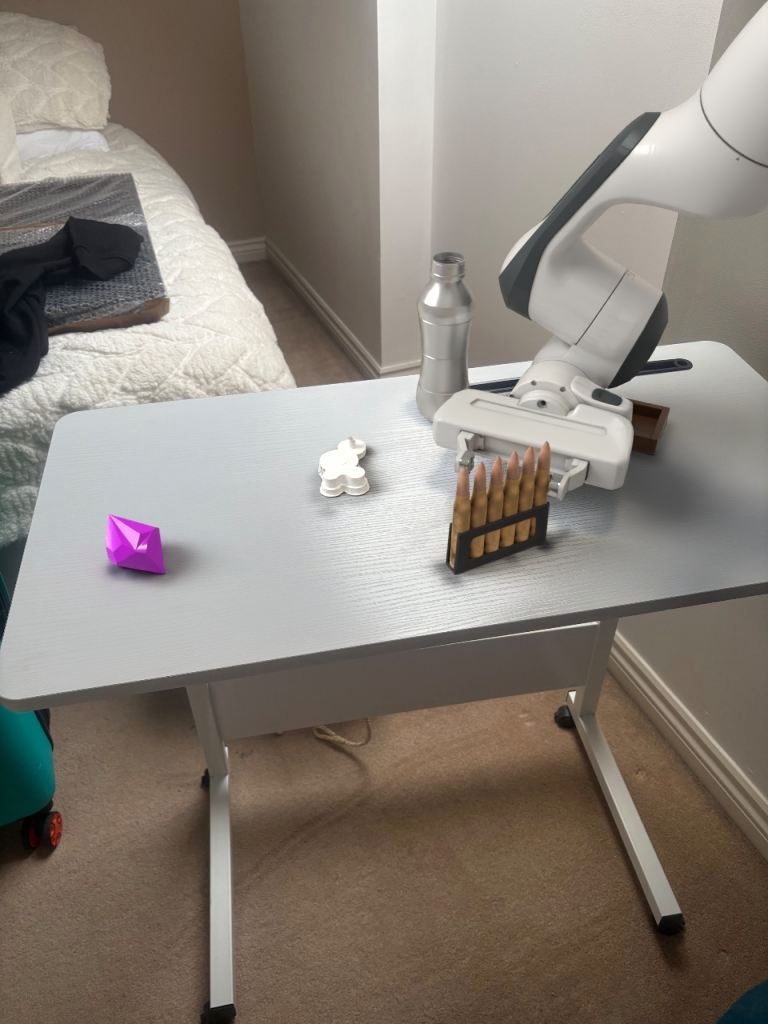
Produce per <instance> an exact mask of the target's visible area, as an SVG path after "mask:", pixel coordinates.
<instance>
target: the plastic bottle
mask: <svg viewBox="0 0 768 1024" xmlns="http://www.w3.org/2000/svg"><path fill="white" fill-rule="evenodd" d="M430 262H431V264H430V269H429V275H430V277H431V279H429V281H428V282H427V283H426V285H425V286H424V287H423V289H422V290H421V291H420V293H419V295H418V299H417V301H416V307H417V308H416V310H417V311H416V312H417V317H418V324H419V332H420V347H421V359H420V368H419V379H418V381H417V385H416V391H415V402H416V407H417V410H418V411H419V413H420V414H421V415H422V417H424V418H425V419H426V420H428V421H431V422H433V418H434V414H435V413H436V411H437V410H438V409H439V408H440V407H441V406H442V405H443V404H444V403H445V402H446V401H447V400H449V399H450V398H451V397H452V396H453V395H454V394H455V393H457V392H460V391H462V390H466V389H471V384H470V380H469V358H468V357H469V347H470V340H471V339H470V338H471V332H472V328H473V324H474V318H475V313H476V307H477V306H476V305H477V303H476V299H475V295H474V293H473V291H472V290H471V288H470V286H469V285H468V283H467V282H466V281H465V279H464V278H465V277H466V275H467V268H466V265H467V257H466V256H465V255H464V254H462V253H461V252H460V253H459V252H455V251H440V252H437V253H435V254H433V255H432V256H431V261H430Z"/></svg>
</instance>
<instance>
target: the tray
mask: <svg viewBox="0 0 768 1024" xmlns="http://www.w3.org/2000/svg"><path fill="white" fill-rule="evenodd" d="M625 398H626V399H628V400H630V401H631V402H632V403H633V413H632V422H631V424H632V426H633V430H634V435H633V444H632V450H631V451H634V452H639V453H642V454H646V455H647V454H648V455H652V456H655V454H656V451H657V449H658V446H659V444H660V442H661V438H662V436H663V434H664V430H665V428H666V426H667V423H668V419H669V415H670V411H671V408H670V407H669V406H664V405H659V404H655V403H651V402H645V401H642V400H637V399H633V398H632V399H631V398H627V397H625Z"/></svg>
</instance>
